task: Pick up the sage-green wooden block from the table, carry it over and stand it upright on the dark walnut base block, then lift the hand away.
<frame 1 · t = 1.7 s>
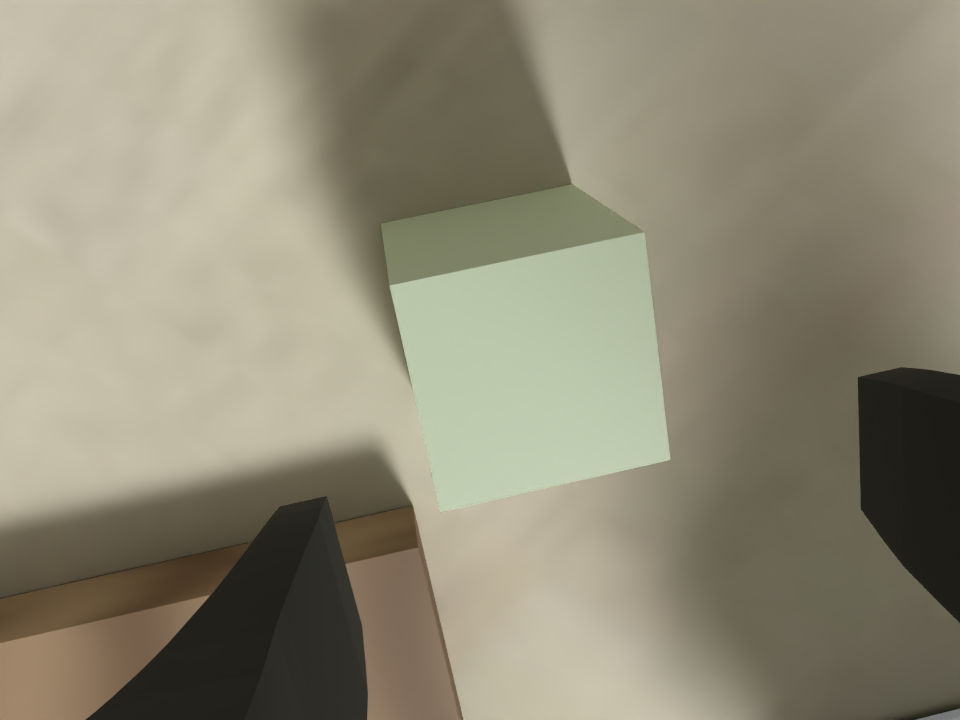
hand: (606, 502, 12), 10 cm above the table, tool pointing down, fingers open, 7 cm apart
sage block: (493, 295, 21), on the table
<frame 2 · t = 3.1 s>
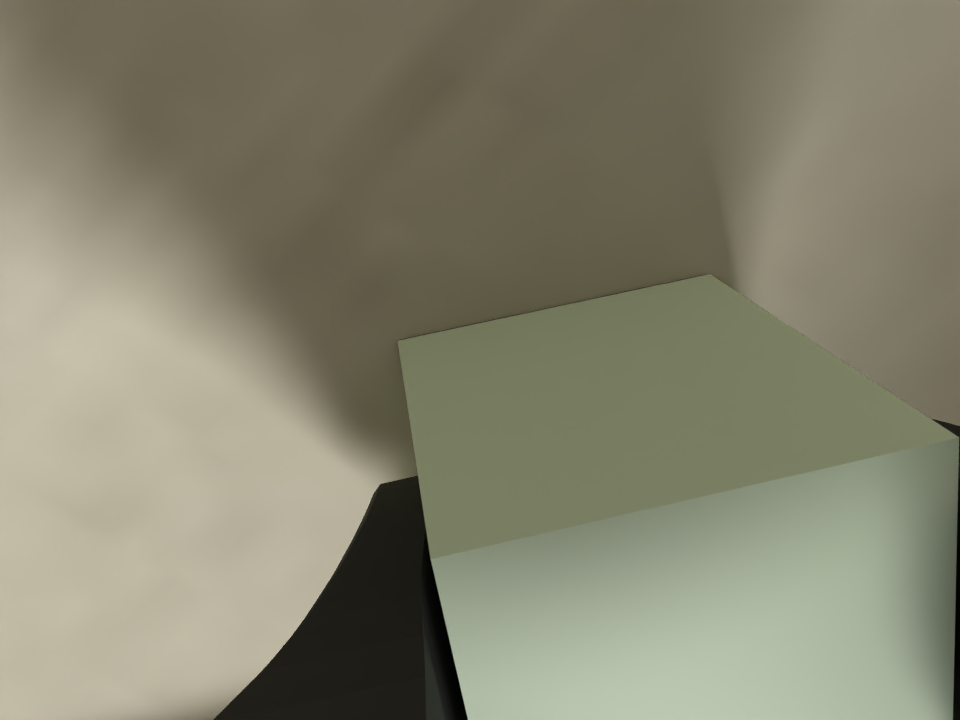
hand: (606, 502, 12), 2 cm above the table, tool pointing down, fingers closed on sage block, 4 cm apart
sage block: (577, 449, 13), on the table, touching gripper
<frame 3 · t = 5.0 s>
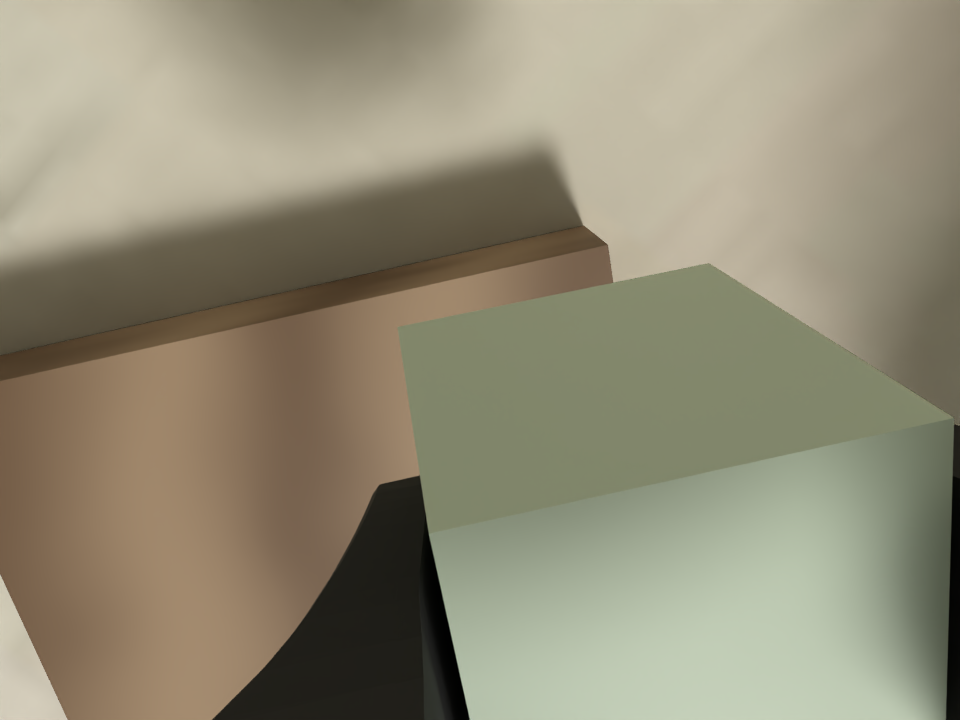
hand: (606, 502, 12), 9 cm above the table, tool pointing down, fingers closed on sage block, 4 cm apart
walnut base: (354, 556, 22), on the table
sage block: (575, 437, 13), point 8 cm above the table, touching gripper
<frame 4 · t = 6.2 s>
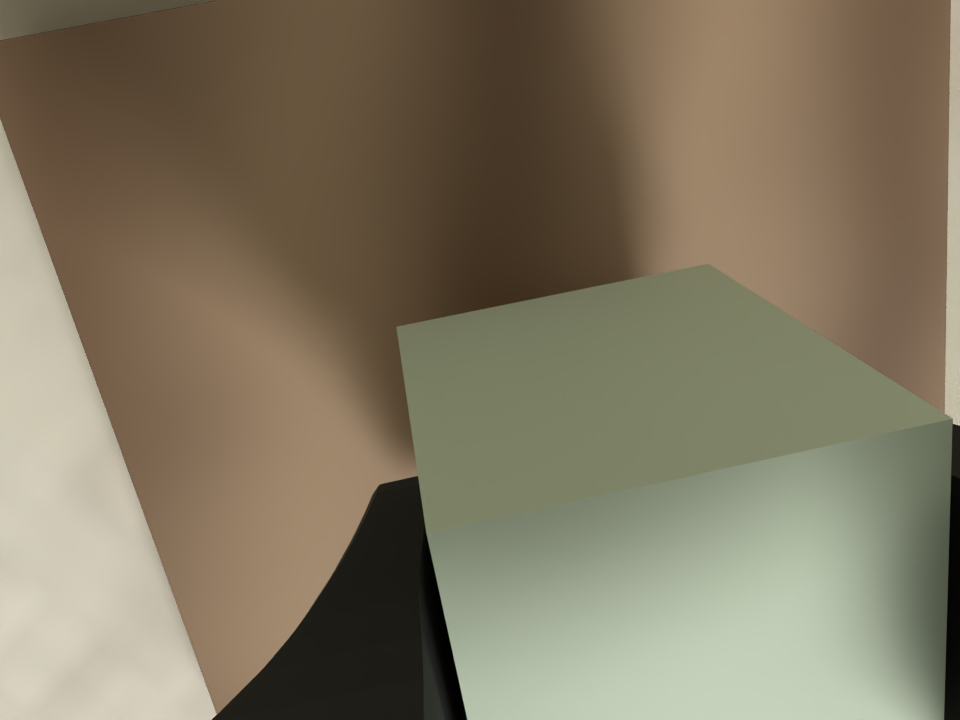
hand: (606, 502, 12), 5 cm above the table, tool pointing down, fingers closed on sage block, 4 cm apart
walnut base: (531, 361, 17), on the table
sage block: (574, 437, 13), point 4 cm above the table, touching gripper
when the fingers open (5 cm above the table, at t = 7.2 s): sage block stays where it is, resting on walnut base.
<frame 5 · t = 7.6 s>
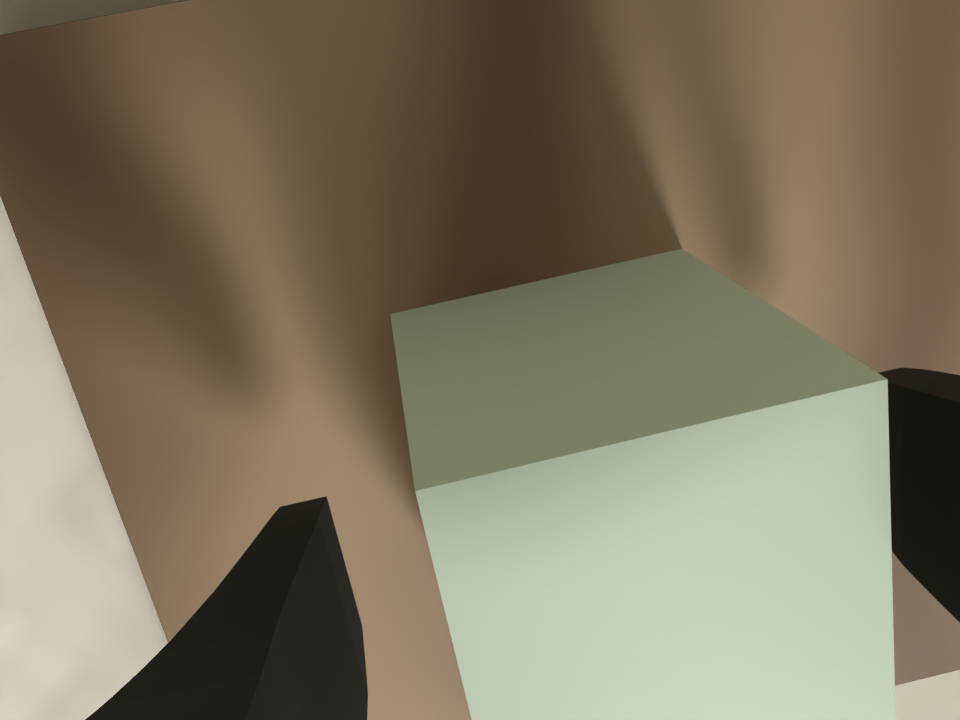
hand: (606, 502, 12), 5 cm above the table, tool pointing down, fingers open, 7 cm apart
walnut base: (538, 377, 16), on the table
sage block: (560, 415, 14), point 2 cm above the table, touching walnut base
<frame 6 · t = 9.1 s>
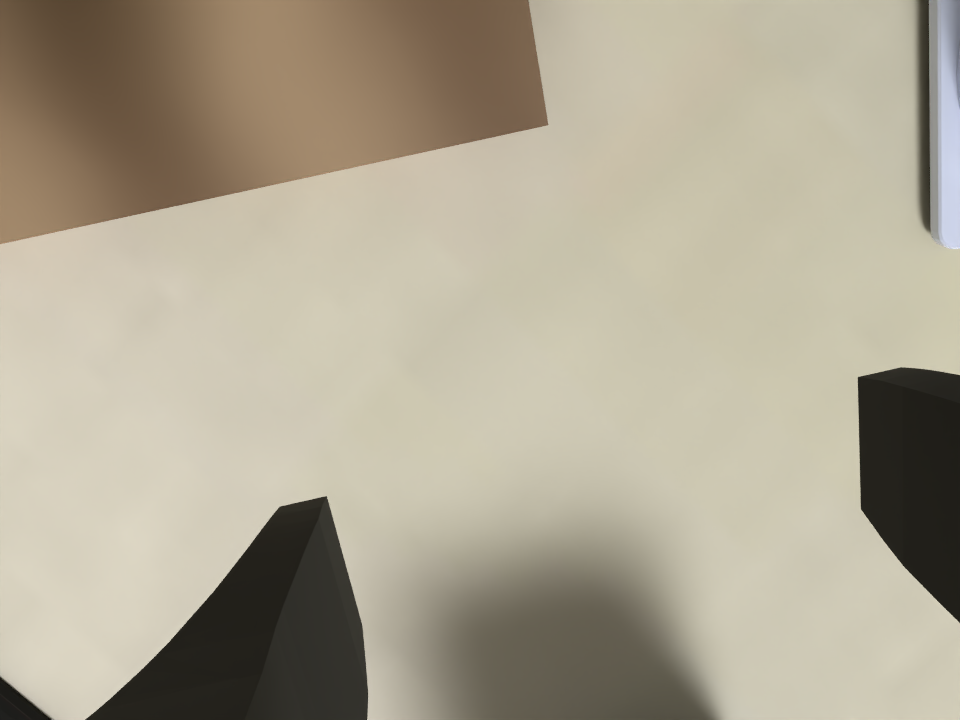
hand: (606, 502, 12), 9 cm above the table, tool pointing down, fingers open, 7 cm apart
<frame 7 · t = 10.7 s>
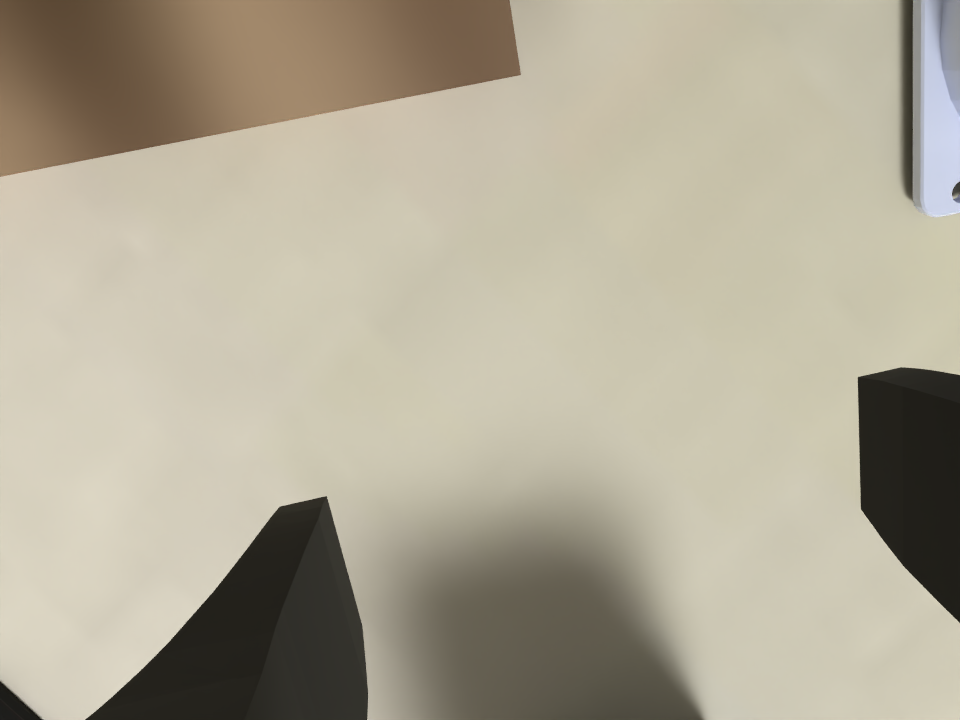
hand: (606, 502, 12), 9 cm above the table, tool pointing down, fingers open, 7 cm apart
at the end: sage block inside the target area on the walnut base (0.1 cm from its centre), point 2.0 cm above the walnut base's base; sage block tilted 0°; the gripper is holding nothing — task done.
